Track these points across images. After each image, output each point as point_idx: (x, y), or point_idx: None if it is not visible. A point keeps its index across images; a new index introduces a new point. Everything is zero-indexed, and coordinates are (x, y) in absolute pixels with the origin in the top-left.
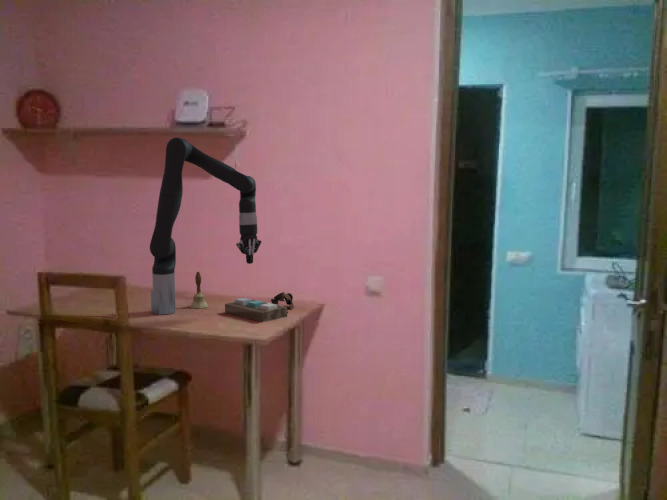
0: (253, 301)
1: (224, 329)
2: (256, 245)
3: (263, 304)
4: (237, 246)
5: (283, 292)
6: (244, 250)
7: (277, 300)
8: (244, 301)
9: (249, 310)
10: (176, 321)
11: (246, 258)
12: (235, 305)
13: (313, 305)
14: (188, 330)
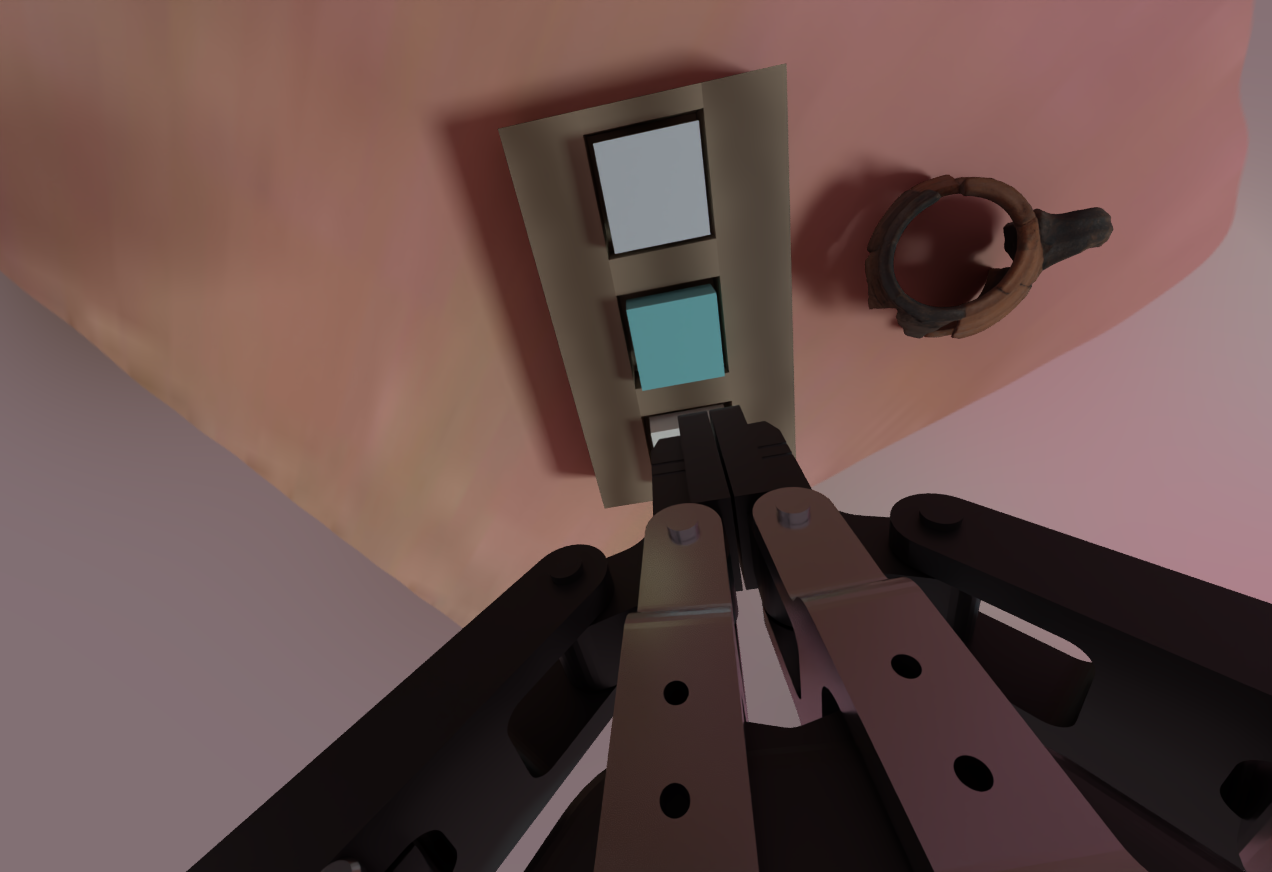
0: (675, 317)
1: (382, 485)
2: (1141, 773)
3: (674, 433)
4: (252, 828)
5: (1010, 285)
6: (523, 749)
7: (891, 302)
8: (632, 248)
9: (577, 408)
10: (109, 161)
11: (654, 491)
12: (551, 245)
13: (1119, 316)
14: (195, 410)
